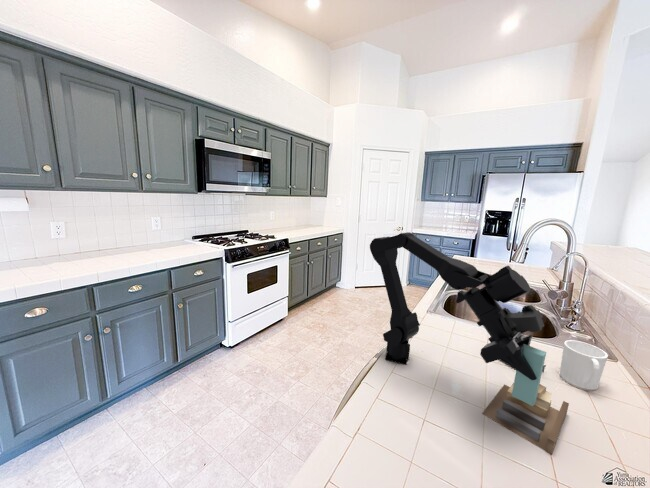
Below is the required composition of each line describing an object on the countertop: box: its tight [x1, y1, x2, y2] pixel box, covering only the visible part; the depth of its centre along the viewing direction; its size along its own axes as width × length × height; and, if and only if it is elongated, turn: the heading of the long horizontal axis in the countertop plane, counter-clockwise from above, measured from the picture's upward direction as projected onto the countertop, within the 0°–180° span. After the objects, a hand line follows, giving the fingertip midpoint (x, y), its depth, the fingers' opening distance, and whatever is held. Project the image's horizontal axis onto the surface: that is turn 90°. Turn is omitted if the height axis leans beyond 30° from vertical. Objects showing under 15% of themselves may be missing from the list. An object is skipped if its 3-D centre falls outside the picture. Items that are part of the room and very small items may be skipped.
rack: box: [481, 382, 570, 455], centre depth 64 cm, size 13×16×6 cm
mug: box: [559, 339, 609, 392], centre depth 76 cm, size 11×9×10 cm
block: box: [512, 344, 547, 406], centre depth 59 cm, size 4×2×12 cm, turn 40°
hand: (536, 376), depth 58 cm, fingers closed on block, 2 cm apart
